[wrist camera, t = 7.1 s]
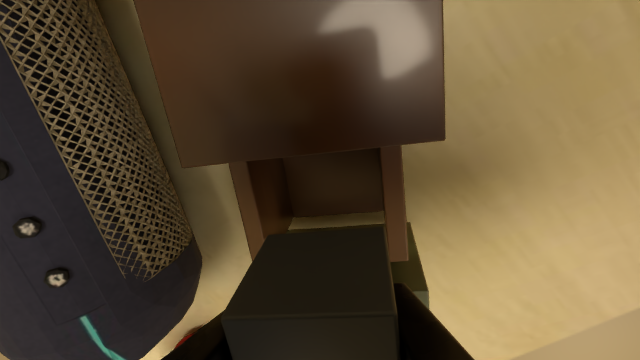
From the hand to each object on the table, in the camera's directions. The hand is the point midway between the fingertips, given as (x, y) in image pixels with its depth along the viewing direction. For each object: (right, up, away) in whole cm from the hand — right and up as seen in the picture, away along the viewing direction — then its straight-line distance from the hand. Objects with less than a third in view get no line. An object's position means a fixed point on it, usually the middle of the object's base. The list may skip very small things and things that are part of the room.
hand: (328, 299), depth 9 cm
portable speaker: (-14, +7, +12) cm, 19 cm away
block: (0, 0, +1) cm, 1 cm away
